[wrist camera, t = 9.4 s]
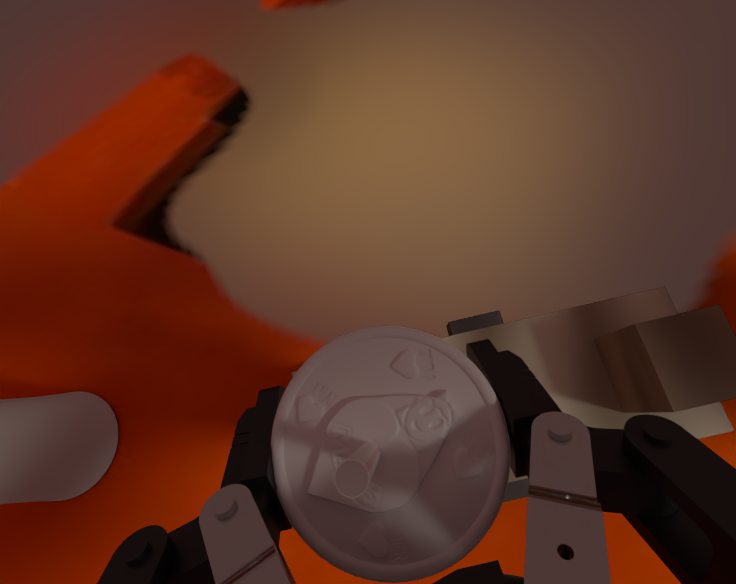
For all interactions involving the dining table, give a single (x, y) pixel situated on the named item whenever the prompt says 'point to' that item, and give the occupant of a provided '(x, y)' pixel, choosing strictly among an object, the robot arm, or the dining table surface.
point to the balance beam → (620, 362)
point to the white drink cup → (390, 453)
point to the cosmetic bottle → (54, 446)
